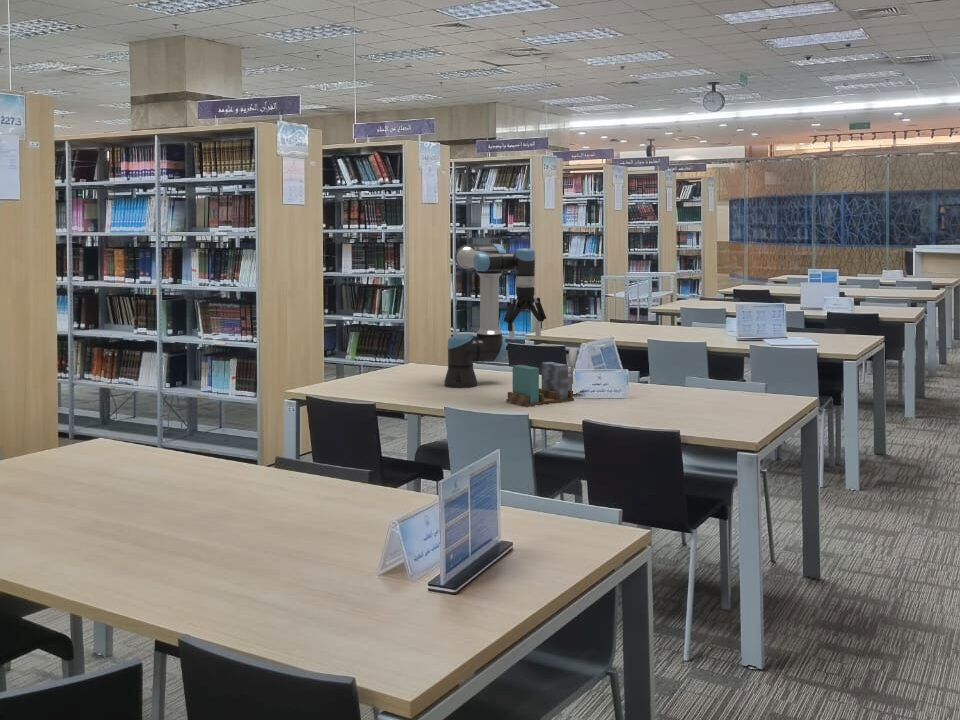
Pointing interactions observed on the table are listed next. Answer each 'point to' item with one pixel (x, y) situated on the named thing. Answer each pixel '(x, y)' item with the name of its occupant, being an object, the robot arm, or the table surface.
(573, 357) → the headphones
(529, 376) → the book block
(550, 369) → the rack
